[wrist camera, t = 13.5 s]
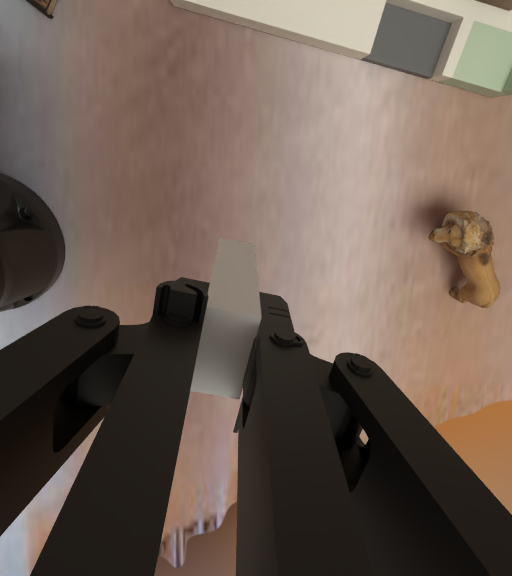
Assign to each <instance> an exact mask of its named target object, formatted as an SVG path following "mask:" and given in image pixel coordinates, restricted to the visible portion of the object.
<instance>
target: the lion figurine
mask: <svg viewBox="0 0 512 576" xmlns="http://www.w3.org/2000/svg"><path fill="white" fill-rule="evenodd" d="M429 239H430V240H431V241H434V242H436V243H438V244H441V245H442V246H443V247H444V248H445V249H446V250H448V251H450V252H451V253H453V254H455V255H456V256H457V259H458V263H459V265H460V268H461V270H462V272H463V274H464V276H465V277H466V278H467V280H468V283H467V284H466V285H465V286H463V287H462V288H461V289H460V290H459V289H458V288H453V289H451V290H450V295H451V296H452V297H453V298H455V299H456V300H458V301H459V302H461V303H465V302H466V301H468V302H470V303H472V304H474V305H477V306H480V307H482V308H488V307H490V306H491V305H492V304H493V302H494V301H496V300H497V298H498V296H499V293H500V284H499V281H498V280H497V277H496V274H495V270H494V265H493V260H492V256H491V251H492V246H493V245H494V243H493V240H494V237H493V232H492V227H491V226H490V223H489V221H486V220H485V219H484V217H482V216H481V215H480V214H478V213H477V212H472V211H455V212H451V213H448V214H447V215H446V217H445V218H444V221H443V223H442V227H439V228H437V229H435V231H434V232H432V233H431V234H430V237H429Z"/></svg>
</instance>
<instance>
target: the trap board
mask: <svg viewBox="0 0 512 576" xmlns="http://www.w3.org/2000/svg"><path fill="white" fill-rule="evenodd" d="M170 1H171V3H172V5H173V6H175V7H179V8H182V9H186V10H189V11H193V12H196V13H200V14H203V15H207V16H210V17H214V18H217V19H221V20H224V21H228V22H231V23H235V24H238V25H242V26H245V27H249V28H252V29H255V30H259V31H262V32H266V33H269V34H273V35H276V36H280V37H283V38H287V39H290V40H294V41H297V42H301V43H304V44H308V45H311V46H315V47H318V48H322V49H325V50H329V51H332V52H336V53H339V54H342V55H346V56H349V57H353V58H356V59H360V60H363V61H367V62H370V63H374V64H377V65H381V66H384V67H388V68H391V69H395V70H398V71H402V72H405V73H409V74H412V75H416V76H419V77H423V78H426V79H429V80H433V81H436V82H440V83H443V84H447V85H450V86H454V87H457V88H461V89H464V90H468V91H471V92H475V93H478V94H482V95H485V96H489V97H498V96H507V95H512V10H510V11H507V10H504V9H501V8H498V7H495V6H491V5H488V4H485V3H482V2H478V1H475V0H170Z"/></svg>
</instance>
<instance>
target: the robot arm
mask: <svg viewBox="0 0 512 576" xmlns="http://www.w3.org/2000/svg"><path fill="white" fill-rule="evenodd" d="M64 259H65V246H64V240H63V236H62V233H61V230H60V227H59V225H58V223H57V221H56V219H55V217H54V215H53V214H52V212H51V211H50V210H49V208H48V207H47V206H46V204H45V203H44V202H43V201H42V200H41V199H40V198H39V197H38V196H37V195H36V194H35V193H34V192H32V191H31V190H30V189H28V188H27V187H26V186H24V185H23V184H21V183H19V182H18V181H16V180H14V179H12V178H10V177H7V176H5V175H2V174H0V312H2V311H6V310H10V309H14V308H18V307H21V306H24V305H26V304H29V303H31V302H32V301H34V300H36V299H37V298H39V297H40V296H41V295H42V294H44V293H45V292H46V291H47V290H48V289H50V288H51V287H52V286H53V284H54V283H55V282H56V281H57V279H58V277H59V276H60V273H61V271H62V268H63V265H64ZM290 317H291V316H290V312H289V308H288V304H287V303H286V302H285V301H284V300H283V299H282V298H281V297H280V296H277V295H272V294H267V293H262V292H259V286H258V276H257V265H256V255H255V245H253V244H249V243H244V242H240V241H235V240H230V239H226V238H221V237H219V242H218V247H217V252H216V256H215V261H214V266H213V271H212V275H211V280H210V283H207V282H202V281H197V280H192V279H187V278H182V277H181V278H180V279H178V280H176V281H167V282H163V283H160V284H159V285H158V286H157V288H156V295H155V302H154V309H153V315H152V318H151V320H150V322H148V323H145V324H140V325H119V324H120V321H119V317H118V316H117V315H116V314H115V313H114V312H113V311H110V310H108V309H106V308H101V307H98V306H83V307H76V308H72V309H70V310H67V311H65V312H63V313H62V314H60V315H58V316H57V317H55V318H53V319H52V320H50V321H48V322H47V323H45V324H43V325H42V326H40V327H38V328H36V329H35V330H33V331H31V332H30V333H28V334H26V335H25V336H23V337H21V338H20V339H18V340H16V341H15V342H13V343H11V344H10V345H8V346H6V347H4V348H3V349H1V350H0V536H1V535H2V534H3V533H4V532H5V530H6V529H7V528H8V527H9V526H10V525H11V523H12V522H13V521H14V520H15V519H16V518H17V517H18V515H19V514H20V513H21V512H22V511H23V510H24V509H25V507H26V506H27V505H28V504H29V503H30V502H31V501H32V499H33V498H34V497H35V496H36V495H37V494H38V493H39V491H40V490H41V489H42V488H43V487H44V486H45V484H46V483H47V482H48V481H49V480H50V479H51V478H52V476H53V475H54V474H55V473H56V472H57V471H58V470H59V468H60V467H61V466H62V465H63V464H64V463H65V462H66V460H67V459H68V458H69V457H70V456H71V455H72V453H73V452H74V451H75V450H76V449H77V448H78V447H79V445H80V444H81V443H82V442H83V441H84V440H85V439H86V437H87V436H88V435H89V434H90V433H91V432H92V431H93V429H94V428H95V427H96V426H97V425H98V424H99V422H100V421H101V420H102V419H103V418H104V420H103V422H102V424H101V426H100V428H99V430H98V432H97V434H96V437H95V439H94V441H93V443H92V445H91V447H90V449H89V451H88V454H87V456H86V458H85V460H84V462H83V464H82V466H81V468H80V471H79V473H78V475H77V477H76V479H75V481H74V483H73V485H72V488H71V490H70V492H69V494H68V496H67V498H66V500H65V502H64V505H63V507H62V509H61V511H60V513H59V515H58V517H57V519H56V522H55V524H54V526H53V528H52V530H51V532H50V534H49V536H48V539H47V541H46V543H45V545H44V547H43V549H42V551H41V553H40V556H39V558H38V560H37V562H36V564H35V566H34V568H33V570H32V573H31V575H30V576H154V573H155V568H156V563H157V558H158V553H159V548H160V543H161V538H162V533H163V527H164V522H165V517H166V512H167V507H168V502H169V497H170V491H171V486H172V481H173V476H174V471H175V466H176V461H177V456H178V450H179V445H180V440H181V435H182V430H183V425H184V420H185V414H186V409H187V404H188V399H189V394H190V391H193V392H199V393H205V394H211V395H217V396H223V397H229V398H235V399H240V395H241V392H242V388H243V398H242V402H241V405H240V409H239V413H238V416H237V420H236V424H235V427H234V431H233V432H235V433H237V432H238V429H239V434H238V490H237V547H236V576H512V515H511V514H510V513H509V511H508V510H507V509H506V508H505V507H504V506H503V505H502V504H501V502H500V501H499V500H498V499H497V498H496V497H495V496H494V495H493V493H492V492H491V491H490V490H489V489H488V488H487V487H486V486H485V484H484V483H483V482H482V481H481V480H480V479H479V478H478V477H477V475H476V474H475V473H474V472H473V471H472V470H471V469H470V468H469V467H468V465H467V464H466V463H465V462H464V461H463V460H462V459H461V458H460V456H459V455H458V454H457V453H456V452H455V451H454V450H453V448H452V447H451V446H450V445H449V444H448V443H447V442H446V441H445V440H444V438H442V436H441V435H440V434H439V433H438V432H437V430H436V429H435V428H434V427H433V426H432V425H431V424H430V423H429V421H428V420H427V419H426V418H425V417H424V416H423V415H422V414H421V413H420V411H419V410H418V409H417V408H416V407H415V406H414V405H413V404H412V402H411V401H410V400H409V399H408V398H407V397H406V396H405V395H404V393H403V392H402V391H401V390H400V389H399V388H398V387H397V386H396V384H395V383H394V382H393V381H392V380H391V379H390V378H389V377H388V375H387V374H386V373H385V372H384V371H383V370H382V369H381V368H380V367H379V366H378V365H377V364H376V363H375V362H373V361H371V360H370V359H368V358H367V357H365V356H363V355H362V356H361V355H360V354H356V353H355V354H354V353H348V352H347V353H340V354H338V355H337V356H336V357H335V360H334V363H330V362H327V361H325V360H322V359H319V358H317V357H315V356H313V355H311V354H310V353H309V350H308V346H307V343H306V342H305V340H304V339H303V338H302V337H301V336H300V335H298V334H297V333H295V332H294V328H293V324H292V320H291V318H290ZM362 429H363V430H364V431H365V433H366V434H367V436H368V438H369V439H368V442H367V443H366V445H365V444H364V443H363V442H362V440H361V439H360V437H359V436H360V433H361V431H362Z"/></svg>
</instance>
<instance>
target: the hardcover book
mask: <svg viewBox="0 0 512 576" xmlns="http://www.w3.org/2000/svg"><path fill="white" fill-rule="evenodd" d="M26 1H27V2H29V3H30V4H31V5H33V6H34V7H35V8H37V9H38V10H39V11H41V12H42V13H43V14H45V15H46V16H47V17H49V18H53V16H52V15H51V13H52V11H53V9H54V6H55V4H56V2H57V0H26Z"/></svg>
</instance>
